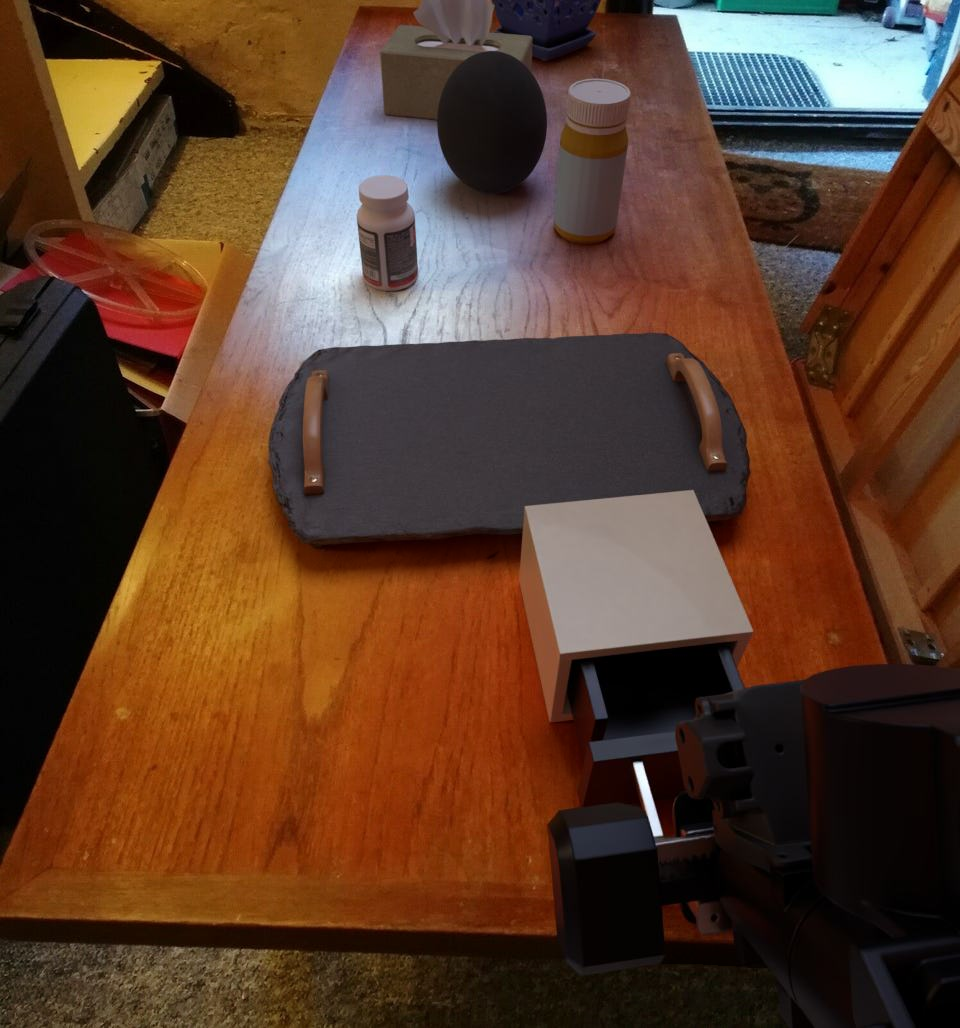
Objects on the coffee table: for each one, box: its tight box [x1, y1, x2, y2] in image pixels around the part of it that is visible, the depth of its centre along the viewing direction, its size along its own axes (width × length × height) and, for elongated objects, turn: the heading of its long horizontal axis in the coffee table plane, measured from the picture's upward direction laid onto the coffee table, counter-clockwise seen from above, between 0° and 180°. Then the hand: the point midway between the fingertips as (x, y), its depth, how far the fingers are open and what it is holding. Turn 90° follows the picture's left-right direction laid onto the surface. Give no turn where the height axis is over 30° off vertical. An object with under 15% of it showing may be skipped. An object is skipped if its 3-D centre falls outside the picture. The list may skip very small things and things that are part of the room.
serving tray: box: [267, 332, 751, 550], centre depth 70 cm, size 39×23×6 cm, turn 95°
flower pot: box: [491, 0, 602, 62], centre depth 128 cm, size 13×13×12 cm
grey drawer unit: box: [518, 490, 754, 723], centre depth 56 cm, size 12×12×8 cm
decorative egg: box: [436, 51, 548, 194], centre depth 96 cm, size 12×12×15 cm
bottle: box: [553, 78, 632, 245], centre depth 90 cm, size 7×7×15 cm
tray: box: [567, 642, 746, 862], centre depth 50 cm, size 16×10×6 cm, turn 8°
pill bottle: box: [356, 174, 419, 292], centre depth 85 cm, size 6×6×10 cm
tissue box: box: [379, 0, 533, 121], centre depth 111 cm, size 19×10×16 cm, turn 79°
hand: (701, 789), depth 45 cm, fingers closed
